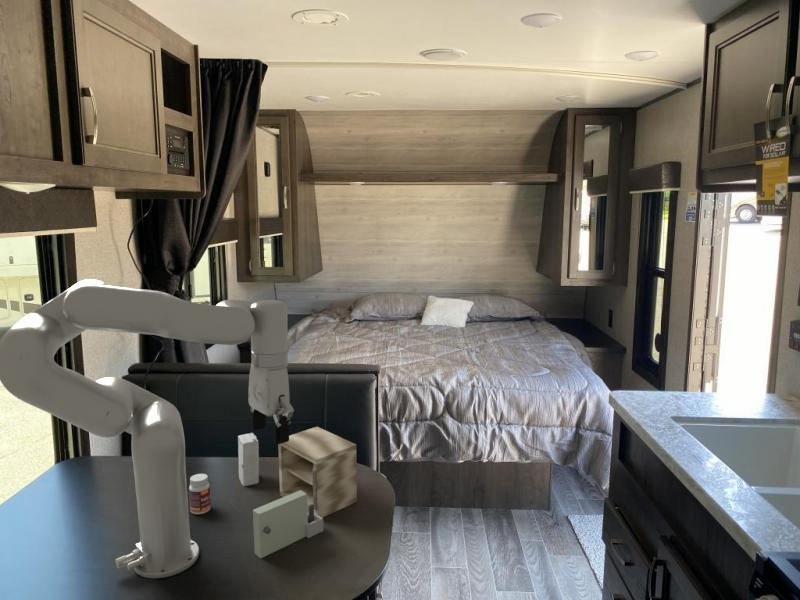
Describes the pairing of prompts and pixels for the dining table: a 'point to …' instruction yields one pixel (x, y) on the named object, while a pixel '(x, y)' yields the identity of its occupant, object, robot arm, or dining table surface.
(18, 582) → the dining table surface
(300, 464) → the cabinet
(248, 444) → the skincare box
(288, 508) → the door
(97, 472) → the dining table surface
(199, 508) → the pill bottle
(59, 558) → the dining table surface
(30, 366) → the robot arm
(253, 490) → the dining table surface
